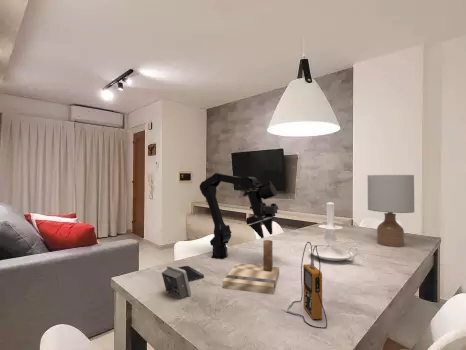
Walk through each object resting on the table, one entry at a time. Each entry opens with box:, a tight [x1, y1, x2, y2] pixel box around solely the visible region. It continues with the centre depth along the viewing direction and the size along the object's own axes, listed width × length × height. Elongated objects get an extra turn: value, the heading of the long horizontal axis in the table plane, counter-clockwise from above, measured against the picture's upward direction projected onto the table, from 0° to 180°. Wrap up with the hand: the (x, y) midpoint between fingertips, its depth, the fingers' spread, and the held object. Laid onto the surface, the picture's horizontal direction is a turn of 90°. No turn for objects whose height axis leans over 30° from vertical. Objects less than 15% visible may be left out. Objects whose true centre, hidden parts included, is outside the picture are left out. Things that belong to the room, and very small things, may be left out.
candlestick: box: [308, 201, 359, 262], centre depth 123 cm, size 21×25×28 cm
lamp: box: [367, 174, 415, 248], centre depth 154 cm, size 24×24×42 cm
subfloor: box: [222, 262, 280, 295], centre depth 97 cm, size 18×20×2 cm
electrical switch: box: [161, 264, 192, 300], centre depth 84 cm, size 9×5×9 cm, turn 51°
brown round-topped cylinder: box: [262, 239, 273, 272], centre depth 101 cm, size 4×4×14 cm
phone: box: [177, 265, 205, 283], centre depth 103 cm, size 8×1×15 cm
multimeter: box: [281, 241, 328, 329], centre depth 73 cm, size 15×10×20 cm
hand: (267, 236), depth 113 cm, fingers open, 9 cm apart
